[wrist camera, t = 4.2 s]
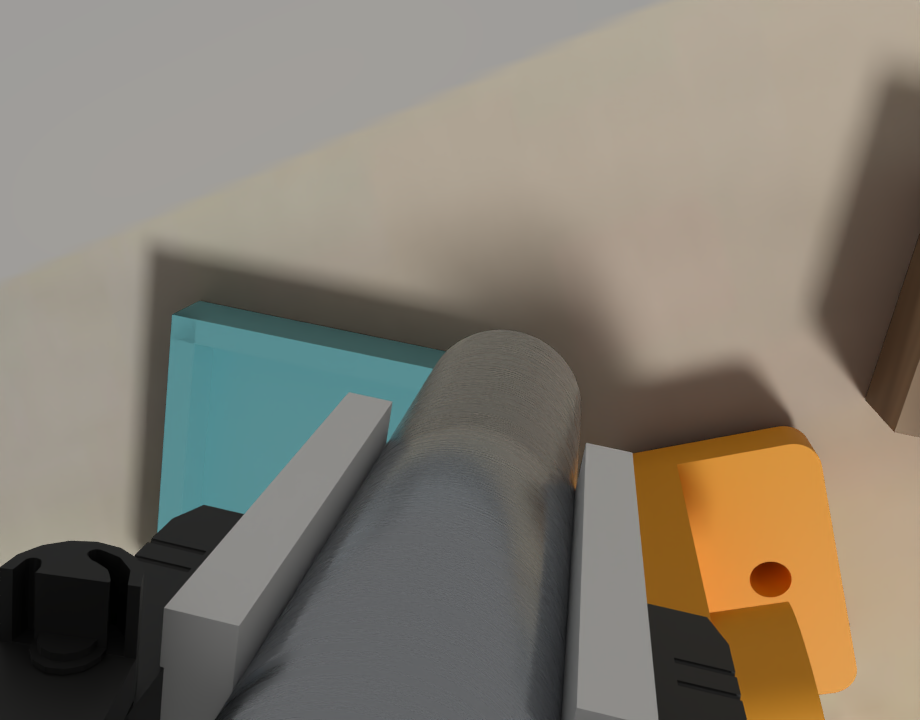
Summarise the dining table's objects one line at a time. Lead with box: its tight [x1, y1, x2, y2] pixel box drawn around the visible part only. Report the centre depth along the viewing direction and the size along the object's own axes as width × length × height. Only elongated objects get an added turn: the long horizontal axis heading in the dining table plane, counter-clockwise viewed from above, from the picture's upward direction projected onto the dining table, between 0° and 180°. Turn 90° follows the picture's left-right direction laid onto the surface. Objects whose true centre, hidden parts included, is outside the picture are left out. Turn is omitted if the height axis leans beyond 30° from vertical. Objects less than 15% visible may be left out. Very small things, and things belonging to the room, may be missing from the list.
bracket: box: [633, 426, 857, 720], centre depth 31 cm, size 11×7×12 cm
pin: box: [215, 330, 581, 720], centre depth 12 cm, size 3×3×14 cm
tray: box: [157, 301, 446, 533], centre depth 37 cm, size 15×14×2 cm
